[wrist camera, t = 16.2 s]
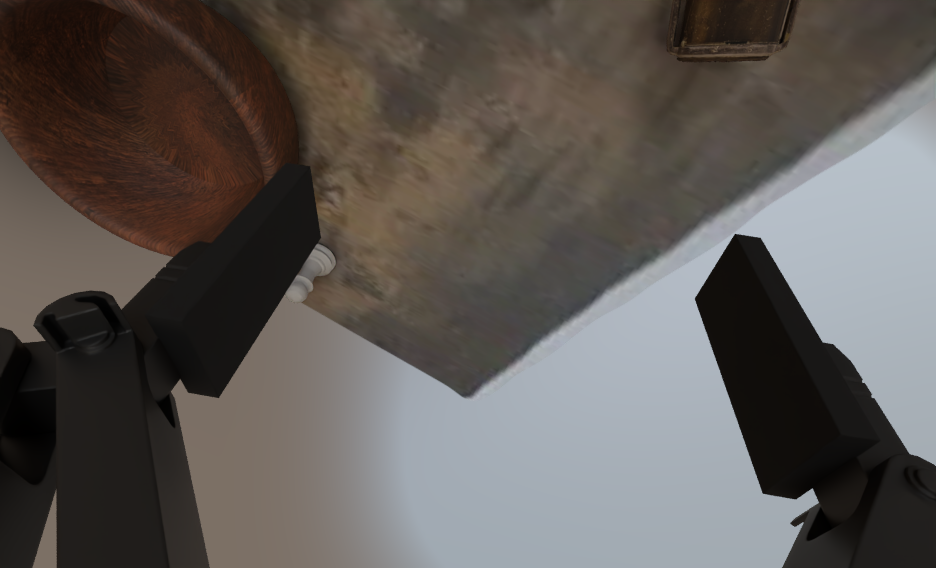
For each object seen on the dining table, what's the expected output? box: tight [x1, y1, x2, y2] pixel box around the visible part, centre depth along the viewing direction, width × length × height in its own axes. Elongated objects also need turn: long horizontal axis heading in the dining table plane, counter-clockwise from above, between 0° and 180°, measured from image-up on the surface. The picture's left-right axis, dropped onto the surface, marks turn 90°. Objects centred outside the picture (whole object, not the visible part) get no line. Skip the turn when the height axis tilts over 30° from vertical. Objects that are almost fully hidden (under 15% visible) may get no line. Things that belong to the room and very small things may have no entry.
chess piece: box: [285, 244, 336, 303], centre depth 55 cm, size 5×5×8 cm
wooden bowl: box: [0, 0, 299, 257], centre depth 42 cm, size 25×25×10 cm
